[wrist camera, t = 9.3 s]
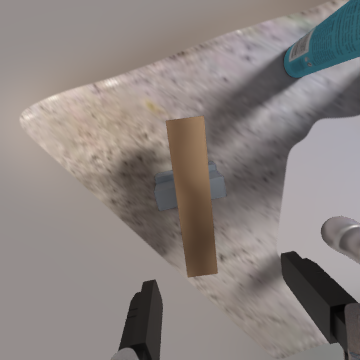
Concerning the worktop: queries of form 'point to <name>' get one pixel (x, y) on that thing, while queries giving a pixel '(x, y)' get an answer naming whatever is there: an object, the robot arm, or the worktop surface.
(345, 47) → the tube
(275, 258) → the worktop surface
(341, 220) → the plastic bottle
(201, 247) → the walnut bar
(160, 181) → the ridge
